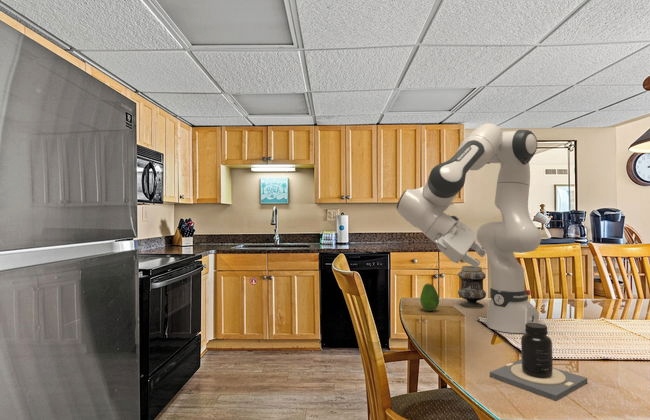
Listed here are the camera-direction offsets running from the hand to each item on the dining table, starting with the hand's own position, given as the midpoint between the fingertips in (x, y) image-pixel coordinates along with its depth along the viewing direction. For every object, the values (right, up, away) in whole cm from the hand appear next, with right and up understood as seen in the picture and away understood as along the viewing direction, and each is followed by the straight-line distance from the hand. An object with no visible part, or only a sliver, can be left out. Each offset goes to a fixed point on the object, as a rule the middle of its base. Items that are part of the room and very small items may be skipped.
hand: (481, 259), depth 111 cm
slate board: (+8, -28, -15) cm, 33 cm away
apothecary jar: (+22, -30, +65) cm, 75 cm away
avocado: (0, -30, +56) cm, 64 cm away
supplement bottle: (+8, -27, -15) cm, 32 cm away
